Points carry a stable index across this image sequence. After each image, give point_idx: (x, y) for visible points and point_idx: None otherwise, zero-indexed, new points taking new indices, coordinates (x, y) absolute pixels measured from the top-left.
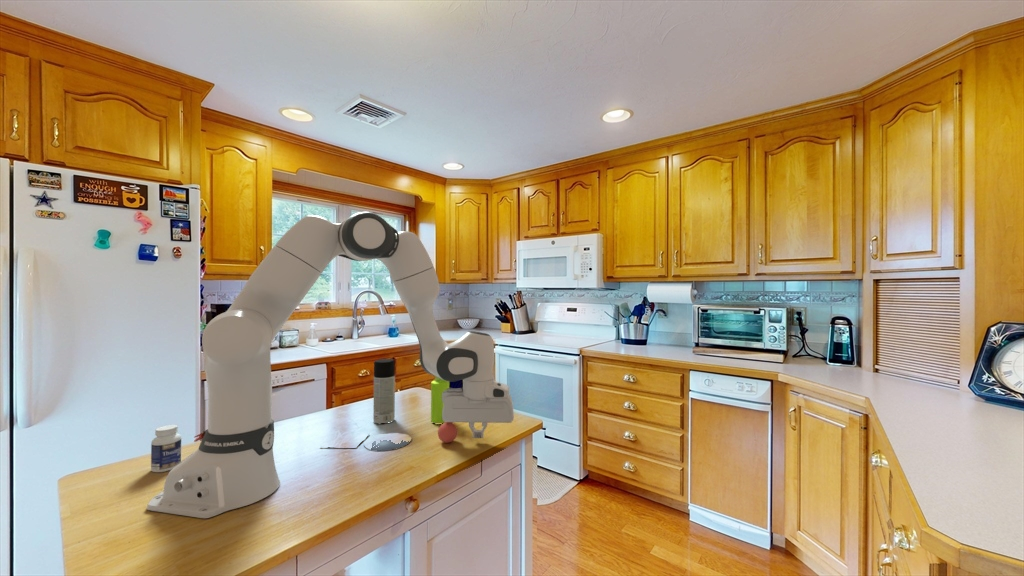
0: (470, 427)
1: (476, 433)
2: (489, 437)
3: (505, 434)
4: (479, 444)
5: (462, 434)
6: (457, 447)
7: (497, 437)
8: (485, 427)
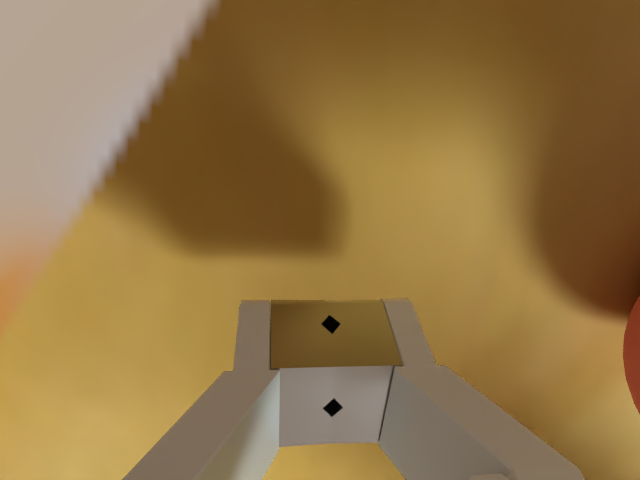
0: (523, 440)
1: (360, 347)
2: (189, 403)
3: (20, 470)
4: (293, 224)
5: None
6: (614, 122)
7: (91, 408)
8: (157, 459)
